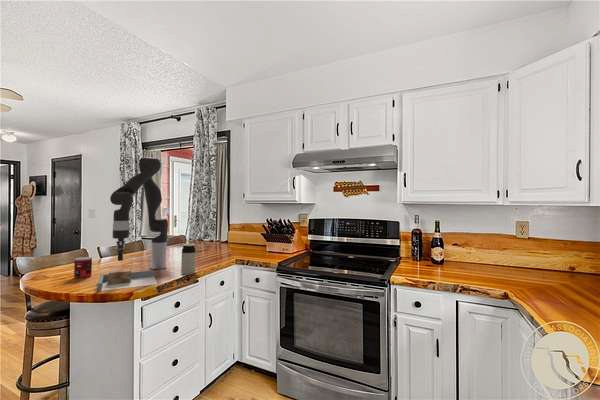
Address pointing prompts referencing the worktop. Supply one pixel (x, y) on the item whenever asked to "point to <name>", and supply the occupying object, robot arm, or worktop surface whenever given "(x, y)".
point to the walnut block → (119, 276)
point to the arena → (136, 280)
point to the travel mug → (188, 259)
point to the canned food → (82, 267)
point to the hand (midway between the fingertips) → (120, 259)
